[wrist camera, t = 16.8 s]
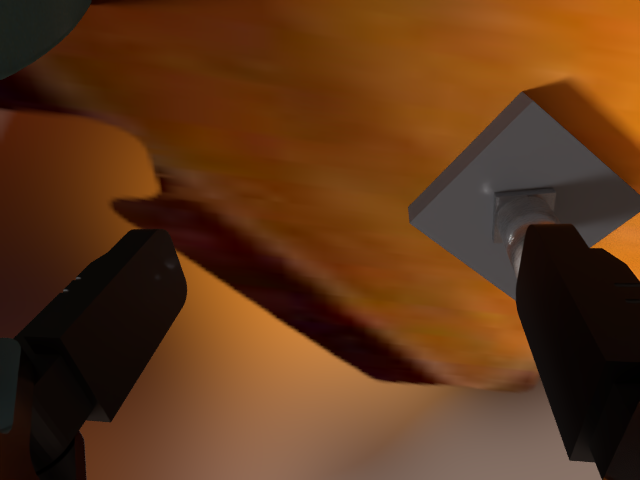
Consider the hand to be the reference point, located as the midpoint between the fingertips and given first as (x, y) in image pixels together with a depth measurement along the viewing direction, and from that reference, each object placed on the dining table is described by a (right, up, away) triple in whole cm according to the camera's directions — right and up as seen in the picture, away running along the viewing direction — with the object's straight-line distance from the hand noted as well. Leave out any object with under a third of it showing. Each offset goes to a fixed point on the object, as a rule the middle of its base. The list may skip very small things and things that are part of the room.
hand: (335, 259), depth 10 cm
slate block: (+20, +5, +34) cm, 39 cm away
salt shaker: (+19, +3, +30) cm, 36 cm away
